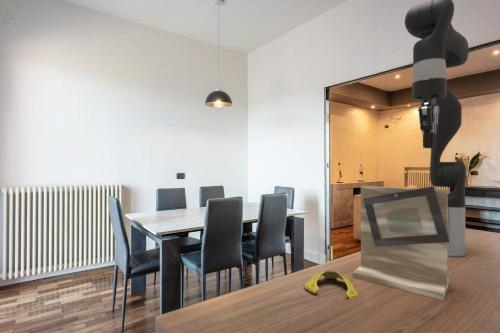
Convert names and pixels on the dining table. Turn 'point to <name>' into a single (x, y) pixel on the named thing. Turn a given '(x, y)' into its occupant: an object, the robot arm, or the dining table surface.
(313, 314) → the dining table surface
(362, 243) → the wall board stand
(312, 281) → the yellow horseshoe piece
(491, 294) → the dining table surface
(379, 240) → the picture frame
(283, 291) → the dining table surface
